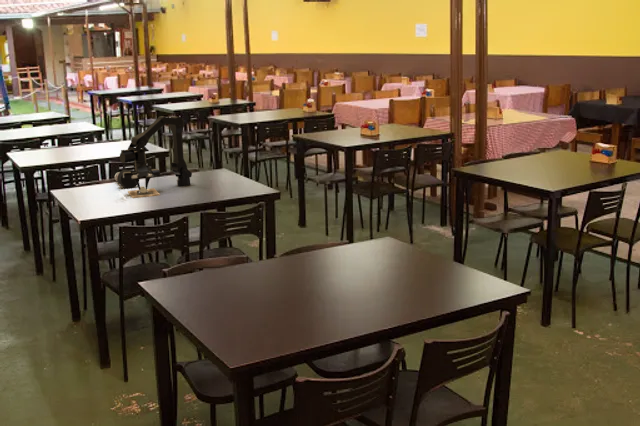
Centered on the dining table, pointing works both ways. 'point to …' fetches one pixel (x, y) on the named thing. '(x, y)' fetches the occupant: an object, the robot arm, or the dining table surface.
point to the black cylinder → (125, 182)
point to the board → (137, 195)
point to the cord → (142, 189)
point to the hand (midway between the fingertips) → (143, 189)
